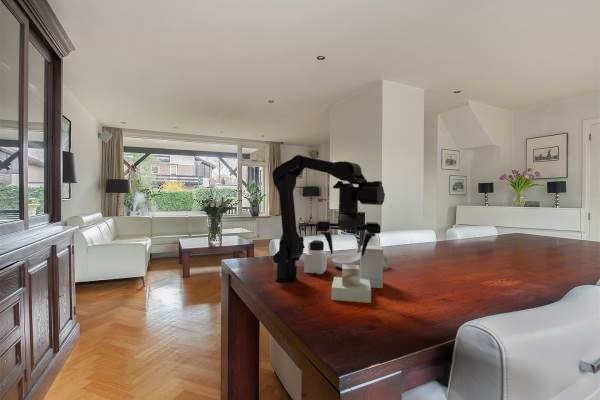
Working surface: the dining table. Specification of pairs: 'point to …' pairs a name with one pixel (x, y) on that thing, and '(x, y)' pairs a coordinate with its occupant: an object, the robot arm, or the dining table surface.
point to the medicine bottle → (315, 258)
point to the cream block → (350, 275)
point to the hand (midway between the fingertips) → (347, 254)
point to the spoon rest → (354, 260)
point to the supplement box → (372, 265)
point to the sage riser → (351, 291)
